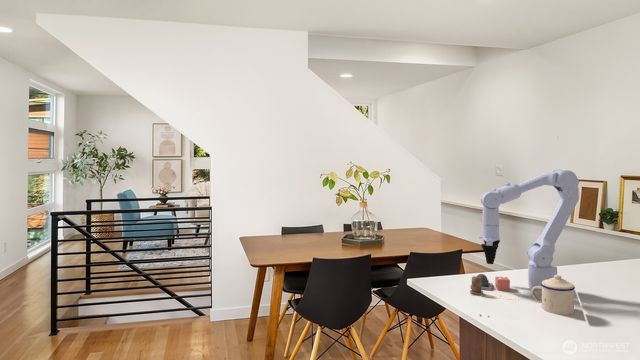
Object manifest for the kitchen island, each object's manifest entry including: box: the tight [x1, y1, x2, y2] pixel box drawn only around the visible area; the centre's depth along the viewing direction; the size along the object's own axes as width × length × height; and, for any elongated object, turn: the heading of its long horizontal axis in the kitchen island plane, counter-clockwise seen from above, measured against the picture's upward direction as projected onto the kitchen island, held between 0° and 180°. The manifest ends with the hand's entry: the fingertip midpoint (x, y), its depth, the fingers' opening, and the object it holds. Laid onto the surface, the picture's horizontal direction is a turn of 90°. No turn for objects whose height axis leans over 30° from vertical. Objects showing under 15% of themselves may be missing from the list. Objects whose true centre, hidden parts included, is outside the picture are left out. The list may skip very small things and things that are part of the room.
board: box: [468, 282, 519, 301], centre depth 151 cm, size 18×18×2 cm
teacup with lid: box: [531, 274, 576, 316], centre depth 133 cm, size 12×9×12 cm
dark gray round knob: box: [476, 273, 490, 287], centre depth 157 cm, size 5×5×5 cm
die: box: [494, 276, 511, 292], centre depth 154 cm, size 4×4×4 cm
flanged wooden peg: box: [469, 275, 484, 297], centre depth 150 cm, size 4×4×6 cm
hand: (490, 261), depth 158 cm, fingers open, 7 cm apart
